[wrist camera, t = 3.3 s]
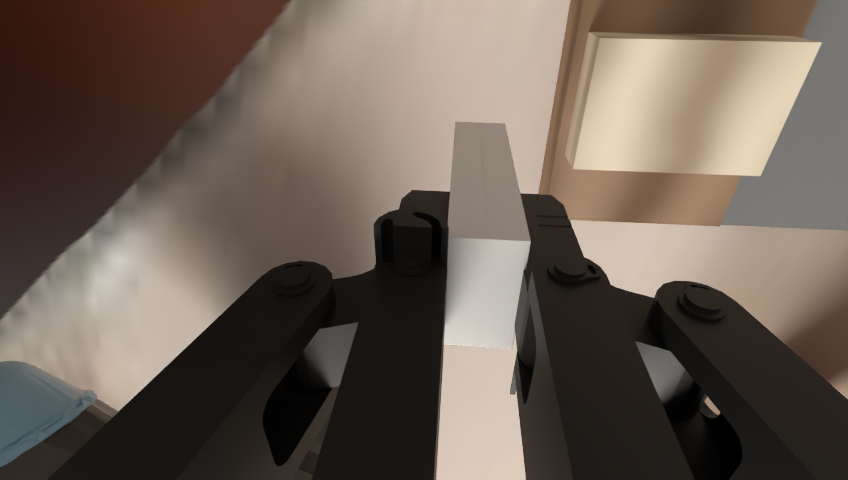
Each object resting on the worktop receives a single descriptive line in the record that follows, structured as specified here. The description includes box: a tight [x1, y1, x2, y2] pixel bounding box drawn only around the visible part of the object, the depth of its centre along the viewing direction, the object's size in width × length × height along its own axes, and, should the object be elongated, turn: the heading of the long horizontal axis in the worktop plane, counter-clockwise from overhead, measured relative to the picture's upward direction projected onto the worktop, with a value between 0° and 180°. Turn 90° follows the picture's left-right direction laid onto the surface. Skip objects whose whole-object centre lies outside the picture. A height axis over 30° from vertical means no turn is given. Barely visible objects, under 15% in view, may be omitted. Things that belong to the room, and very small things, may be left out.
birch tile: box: [565, 32, 822, 176], centre depth 21 cm, size 9×6×2 cm, turn 90°
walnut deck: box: [539, 0, 818, 226], centre depth 23 cm, size 10×14×2 cm
